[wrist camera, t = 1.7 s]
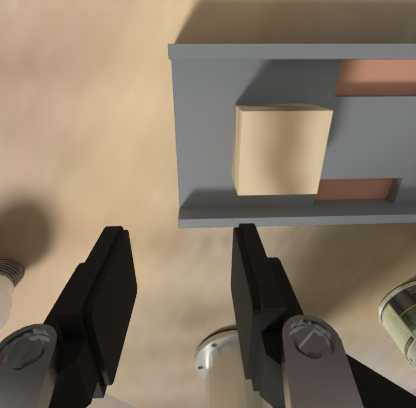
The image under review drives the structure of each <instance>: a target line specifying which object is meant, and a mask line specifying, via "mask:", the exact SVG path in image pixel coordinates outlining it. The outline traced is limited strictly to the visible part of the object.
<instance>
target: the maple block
mask: <svg viewBox="0 0 416 408" xmlns="http://www.w3.org/2000/svg"><path fill="white" fill-rule="evenodd" d="M332 114H333V110H330V109H326V108H323V107H320V106H317V105H314V104H235V108H234V134H233V160H232V179H233V182H234V185H235V188H236V191H237V194H238V195H286V194H317V191H318V186H319V181H320V176H321V171H322V166H323V160H324V155H325V150H326V145H327V140H328V135H329V130H330V124H331V119H332Z"/></svg>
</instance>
